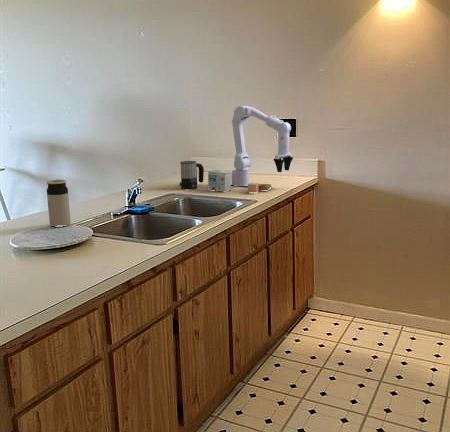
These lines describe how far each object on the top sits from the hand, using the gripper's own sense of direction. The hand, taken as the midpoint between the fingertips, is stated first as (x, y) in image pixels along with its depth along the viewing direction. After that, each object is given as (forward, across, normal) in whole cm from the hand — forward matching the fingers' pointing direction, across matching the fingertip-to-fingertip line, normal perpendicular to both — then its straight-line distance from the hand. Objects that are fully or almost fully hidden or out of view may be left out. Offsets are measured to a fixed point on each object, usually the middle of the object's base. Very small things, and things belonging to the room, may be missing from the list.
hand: (283, 171), depth 277 cm
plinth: (+10, -8, +8) cm, 15 cm away
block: (+10, -18, +8) cm, 22 cm away
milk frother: (+10, -23, +48) cm, 54 cm away
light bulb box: (+10, -22, +26) cm, 36 cm away
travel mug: (+10, -117, +34) cm, 123 cm away
